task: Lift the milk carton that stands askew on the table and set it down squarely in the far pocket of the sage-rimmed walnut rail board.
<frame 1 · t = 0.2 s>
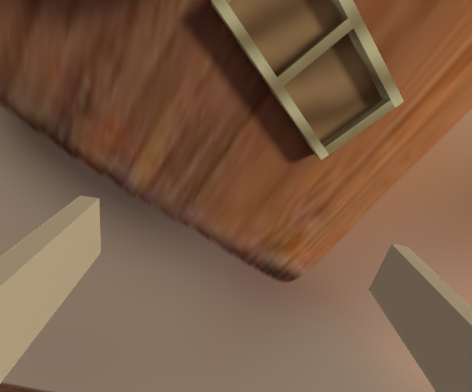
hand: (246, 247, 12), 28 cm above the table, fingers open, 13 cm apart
rail board: (306, 56, 33), on the table
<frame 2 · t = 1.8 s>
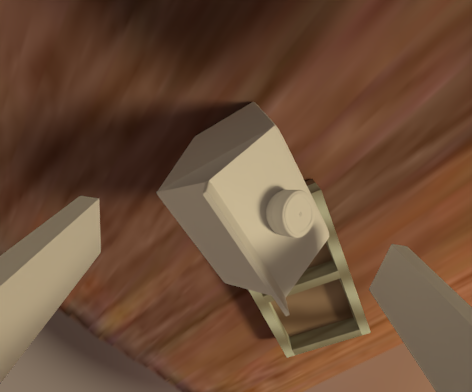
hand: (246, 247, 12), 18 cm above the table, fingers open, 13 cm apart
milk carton: (240, 148, 28), on the table
rail board: (295, 270, 35), on the table
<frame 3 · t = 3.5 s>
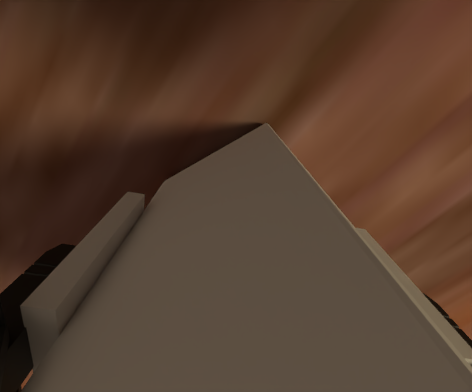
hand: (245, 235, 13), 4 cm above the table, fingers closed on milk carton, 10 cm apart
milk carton: (242, 198, 17), on the table, touching gripper
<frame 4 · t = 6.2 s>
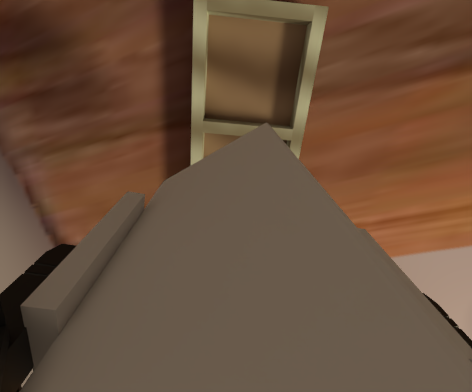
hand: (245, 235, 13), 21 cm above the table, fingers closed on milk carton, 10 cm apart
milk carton: (242, 197, 17), point 16 cm above the table, touching gripper
rail board: (246, 125, 31), on the table
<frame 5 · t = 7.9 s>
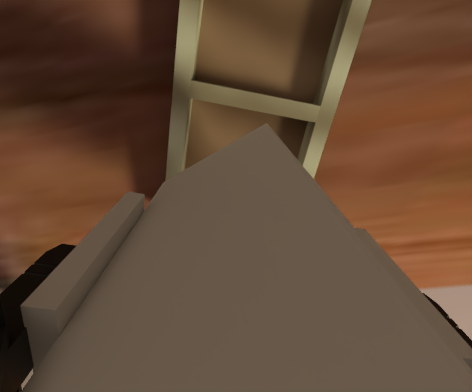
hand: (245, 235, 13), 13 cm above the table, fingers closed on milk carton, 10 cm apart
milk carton: (242, 198, 17), point 8 cm above the table, touching gripper
rail board: (252, 99, 22), on the table
when the fingers open (7 cm above the table, at t = 9.5 s): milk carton stays where it is, resting on rail board.
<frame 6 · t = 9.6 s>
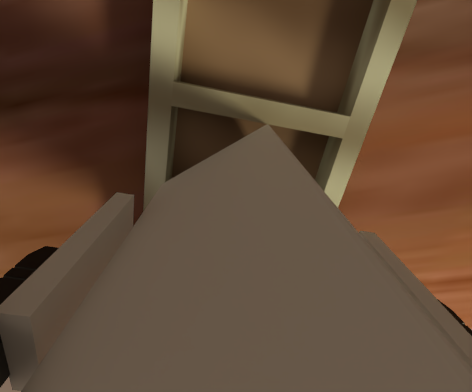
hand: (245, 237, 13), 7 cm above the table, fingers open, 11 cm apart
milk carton: (242, 201, 16), point 3 cm above the table, touching rail board
rail board: (256, 106, 17), on the table
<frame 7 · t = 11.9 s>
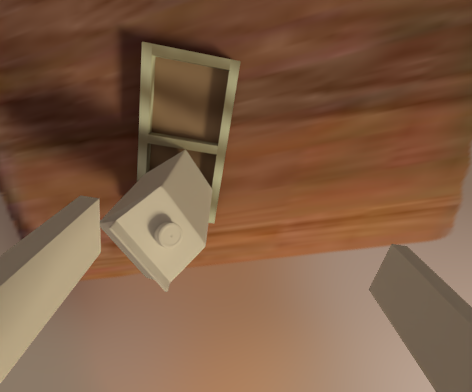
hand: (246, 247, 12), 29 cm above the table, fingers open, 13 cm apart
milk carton: (179, 181, 38), point 3 cm above the table, touching rail board
rail board: (186, 140, 39), on the table
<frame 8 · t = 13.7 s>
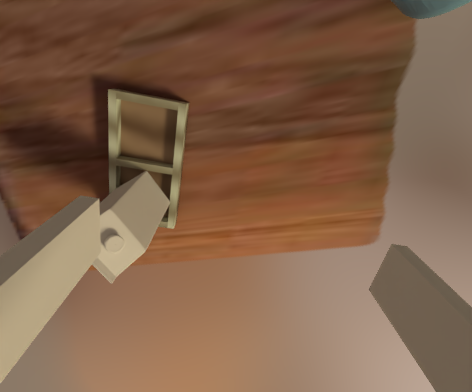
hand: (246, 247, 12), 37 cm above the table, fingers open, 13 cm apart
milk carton: (143, 195, 47), point 3 cm above the table, touching rail board
rail board: (149, 161, 48), on the table
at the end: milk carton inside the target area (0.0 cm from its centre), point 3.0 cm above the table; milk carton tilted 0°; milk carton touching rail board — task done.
